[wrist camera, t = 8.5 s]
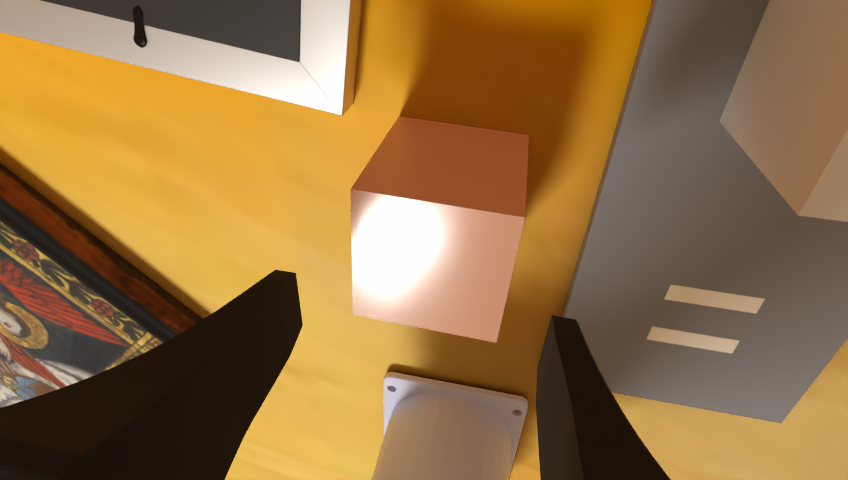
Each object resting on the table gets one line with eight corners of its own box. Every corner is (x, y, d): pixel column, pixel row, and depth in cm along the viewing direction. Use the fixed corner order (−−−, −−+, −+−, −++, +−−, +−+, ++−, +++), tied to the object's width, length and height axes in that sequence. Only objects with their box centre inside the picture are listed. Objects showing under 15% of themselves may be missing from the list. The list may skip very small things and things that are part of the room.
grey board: (776, 412, 23) (781, 423, 23) (546, 371, 25) (546, 380, 24) (1232, -191, 11) (1266, -196, 10) (711, -204, 12) (718, -209, 12)
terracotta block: (506, 242, 21) (496, 342, 16) (394, 223, 22) (352, 314, 17) (528, 134, 18) (525, 217, 13) (399, 115, 19) (350, 189, 14)
